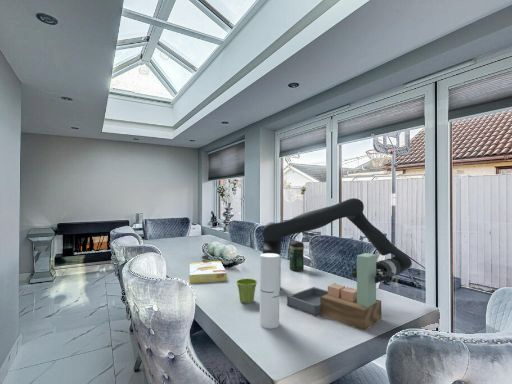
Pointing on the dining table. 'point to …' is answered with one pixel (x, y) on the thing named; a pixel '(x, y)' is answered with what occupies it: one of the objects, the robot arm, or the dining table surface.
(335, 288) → the tile
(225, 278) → the cereal box
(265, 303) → the cylindrical container
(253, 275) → the dining table surface
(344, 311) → the bench
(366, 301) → the tall sage green panel
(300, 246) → the coffee jar
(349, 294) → the tile
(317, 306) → the tray
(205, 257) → the cake pan
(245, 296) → the plant pot
